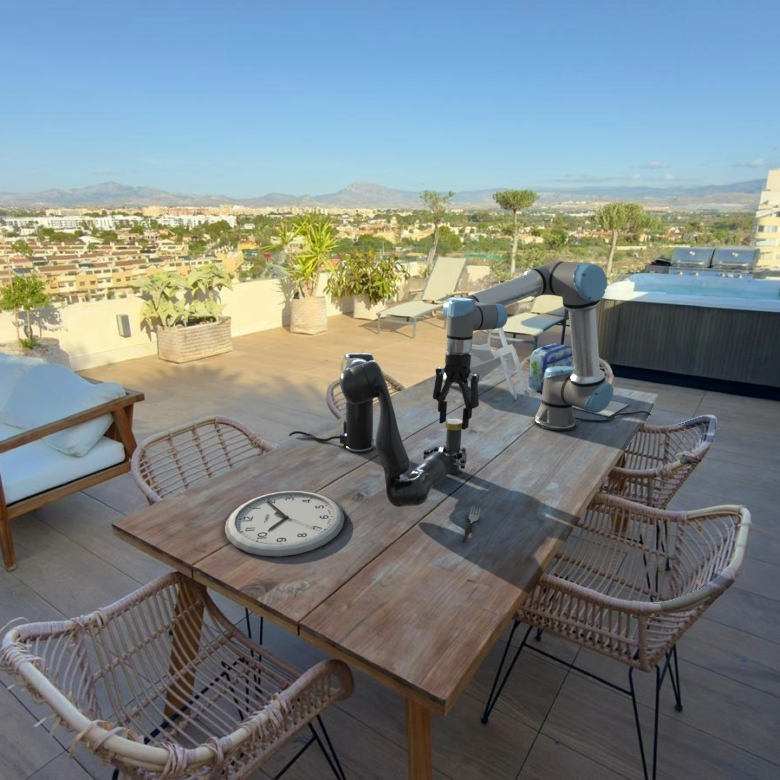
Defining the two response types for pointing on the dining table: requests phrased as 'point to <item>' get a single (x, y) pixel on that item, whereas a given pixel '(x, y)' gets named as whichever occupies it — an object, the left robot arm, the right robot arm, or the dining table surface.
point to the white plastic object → (495, 362)
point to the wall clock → (284, 523)
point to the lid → (454, 424)
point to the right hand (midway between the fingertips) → (453, 425)
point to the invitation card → (609, 408)
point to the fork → (472, 519)
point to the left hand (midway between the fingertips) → (456, 448)
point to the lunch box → (547, 362)
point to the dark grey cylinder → (453, 445)
